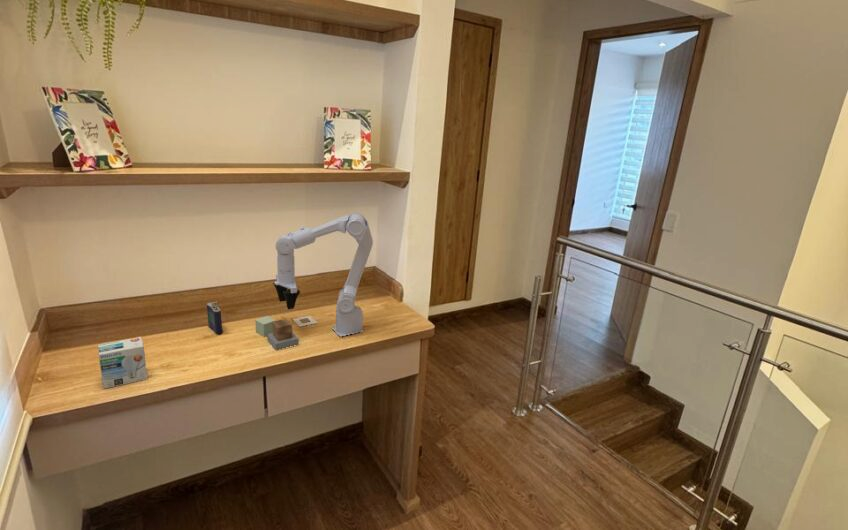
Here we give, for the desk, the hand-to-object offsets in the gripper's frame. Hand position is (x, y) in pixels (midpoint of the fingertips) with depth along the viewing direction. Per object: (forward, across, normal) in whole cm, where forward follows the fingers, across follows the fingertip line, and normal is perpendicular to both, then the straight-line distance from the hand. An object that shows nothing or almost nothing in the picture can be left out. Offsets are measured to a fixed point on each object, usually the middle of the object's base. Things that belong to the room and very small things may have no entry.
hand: (286, 304), depth 162 cm
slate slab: (+10, +9, -5) cm, 14 cm away
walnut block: (+7, +9, -5) cm, 12 cm away
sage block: (+10, -1, -7) cm, 12 cm away
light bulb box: (+10, +8, -51) cm, 52 cm away
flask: (+10, -12, -22) cm, 27 cm away
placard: (+10, -3, +8) cm, 13 cm away
